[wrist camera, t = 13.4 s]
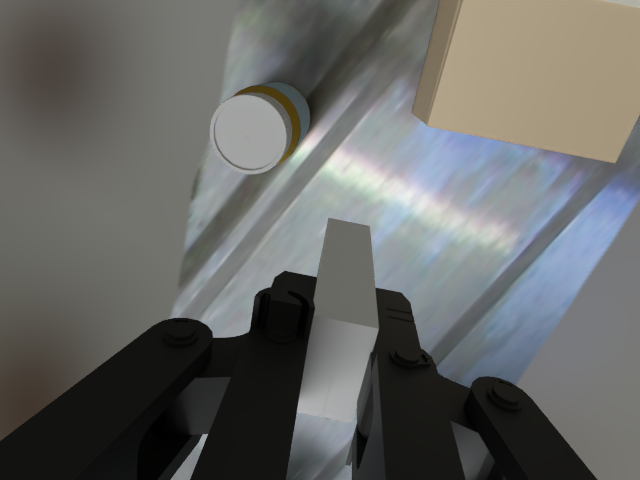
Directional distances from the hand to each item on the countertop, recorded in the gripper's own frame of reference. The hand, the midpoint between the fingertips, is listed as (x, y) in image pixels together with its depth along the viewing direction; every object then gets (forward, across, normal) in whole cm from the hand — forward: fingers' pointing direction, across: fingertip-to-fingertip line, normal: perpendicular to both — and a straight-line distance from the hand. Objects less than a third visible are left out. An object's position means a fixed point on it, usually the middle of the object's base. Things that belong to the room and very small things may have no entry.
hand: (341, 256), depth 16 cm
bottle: (+35, +8, 0) cm, 36 cm away
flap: (+24, -14, -10) cm, 29 cm away
